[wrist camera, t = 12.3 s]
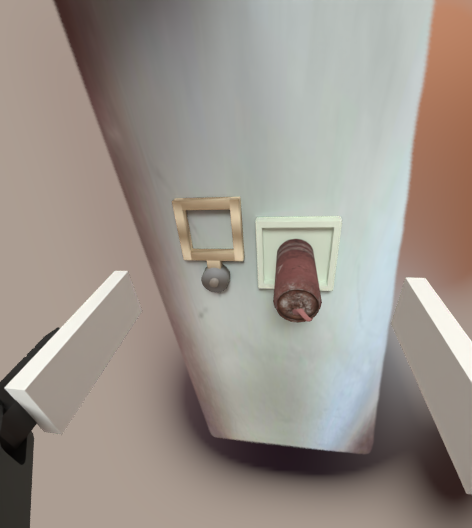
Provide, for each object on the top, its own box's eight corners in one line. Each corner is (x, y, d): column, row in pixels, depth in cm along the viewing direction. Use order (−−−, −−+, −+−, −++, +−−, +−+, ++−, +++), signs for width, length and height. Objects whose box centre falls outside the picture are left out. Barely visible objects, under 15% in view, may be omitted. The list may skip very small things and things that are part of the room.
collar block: (175, 198, 45) (168, 204, 42) (240, 196, 43) (237, 203, 40) (192, 283, 54) (187, 293, 51) (246, 285, 52) (244, 296, 49)
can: (296, 275, 48) (298, 332, 36) (269, 253, 47) (263, 306, 35) (322, 254, 45) (334, 309, 33) (295, 230, 44) (297, 279, 32)
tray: (256, 217, 44) (255, 221, 42) (340, 216, 42) (342, 221, 40) (259, 281, 51) (258, 288, 49) (331, 284, 48) (332, 290, 47)
